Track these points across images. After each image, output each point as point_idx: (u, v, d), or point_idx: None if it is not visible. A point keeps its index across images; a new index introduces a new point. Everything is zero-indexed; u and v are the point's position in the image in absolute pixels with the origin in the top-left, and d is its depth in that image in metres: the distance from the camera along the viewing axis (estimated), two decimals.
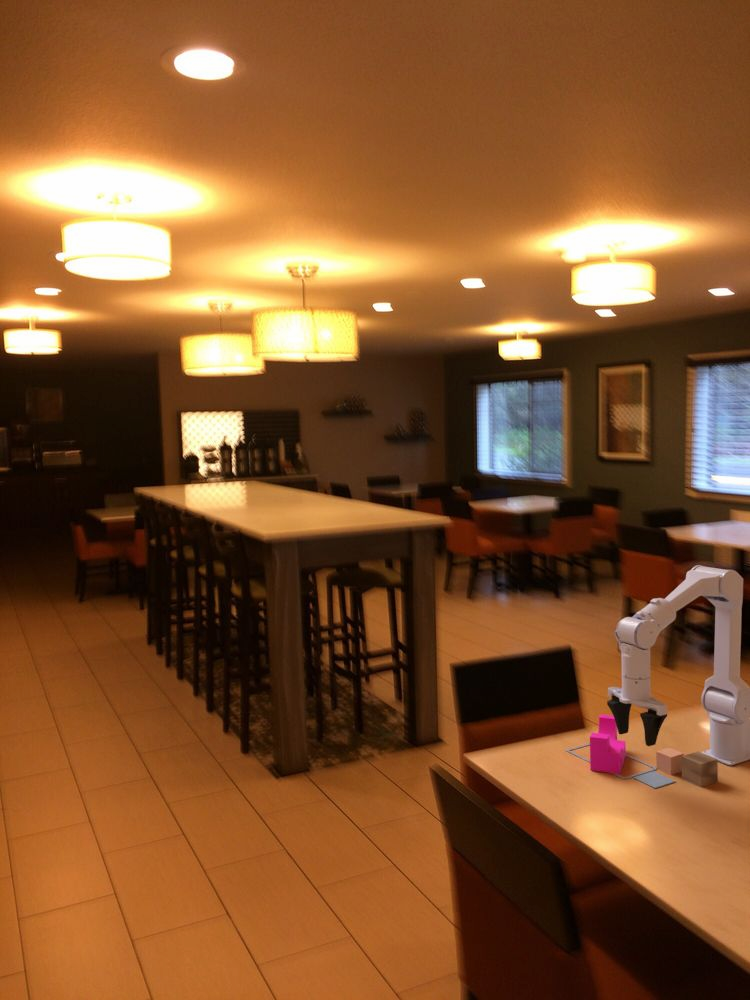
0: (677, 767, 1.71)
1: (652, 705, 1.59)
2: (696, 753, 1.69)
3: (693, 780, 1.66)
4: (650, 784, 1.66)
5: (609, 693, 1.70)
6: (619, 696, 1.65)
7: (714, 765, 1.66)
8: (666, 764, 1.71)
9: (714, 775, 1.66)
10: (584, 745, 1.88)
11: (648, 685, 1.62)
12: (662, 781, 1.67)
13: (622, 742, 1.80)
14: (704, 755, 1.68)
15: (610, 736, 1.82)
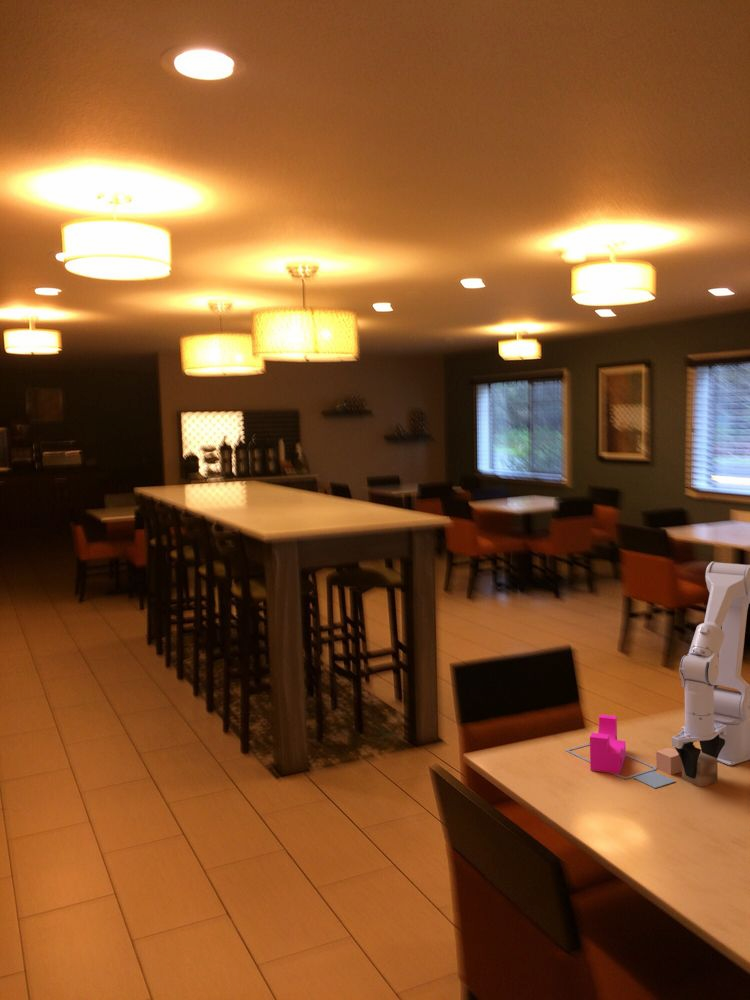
0: (677, 767, 1.71)
1: None
2: None
3: (693, 780, 1.66)
4: (650, 784, 1.66)
5: None
6: None
7: (714, 765, 1.66)
8: (666, 764, 1.71)
9: (714, 775, 1.66)
10: (584, 745, 1.88)
11: (692, 721, 1.64)
12: (662, 781, 1.67)
13: (622, 742, 1.80)
14: (704, 755, 1.68)
15: (610, 736, 1.82)
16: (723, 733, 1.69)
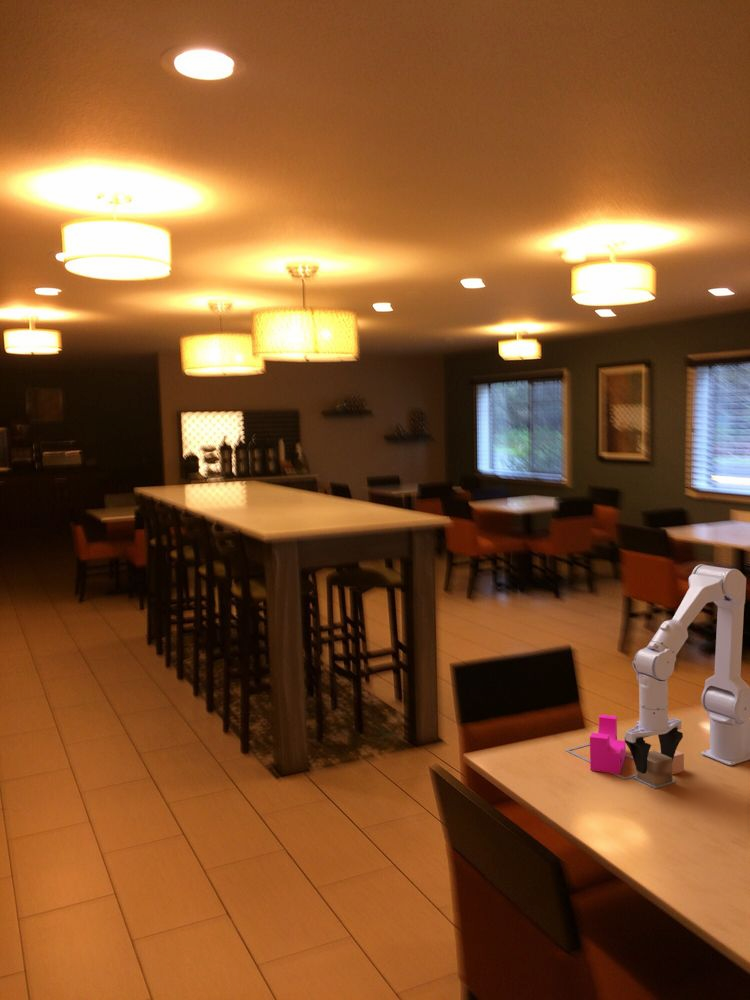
0: (677, 767, 1.71)
1: None
2: (651, 752, 1.70)
3: (647, 779, 1.66)
4: (650, 784, 1.66)
5: None
6: None
7: (668, 764, 1.66)
8: None
9: (668, 774, 1.66)
10: (584, 745, 1.88)
11: (646, 716, 1.65)
12: None
13: (622, 742, 1.80)
14: (659, 754, 1.68)
15: (610, 736, 1.82)
16: (678, 727, 1.69)
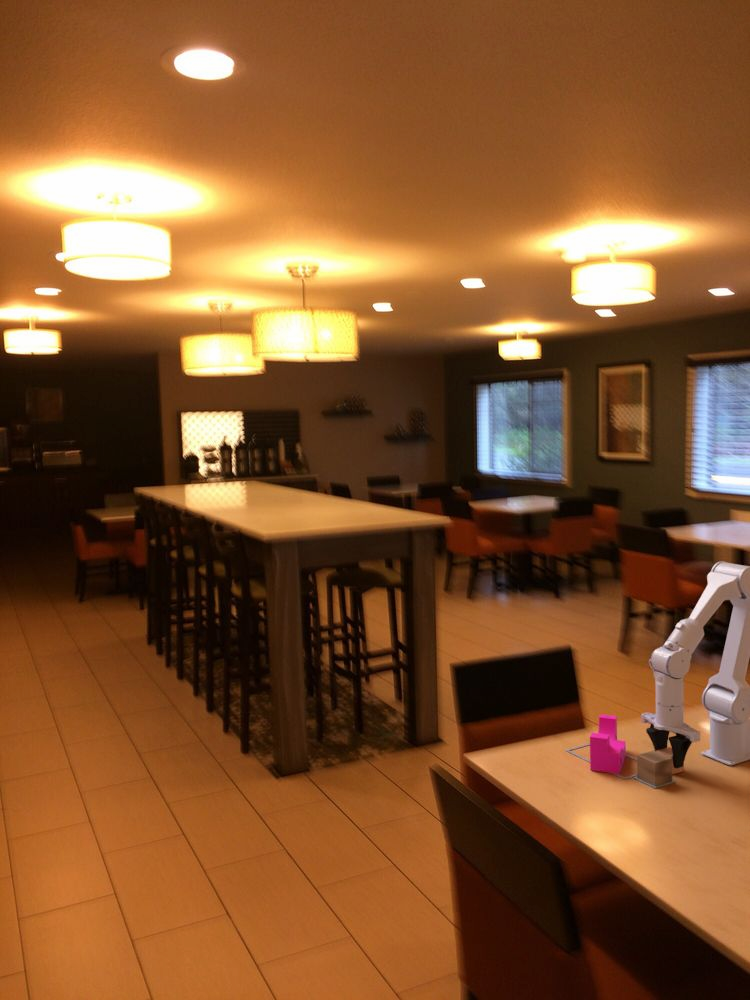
0: None
1: (686, 732, 1.67)
2: (651, 752, 1.70)
3: (647, 779, 1.66)
4: (650, 784, 1.66)
5: (643, 719, 1.78)
6: (653, 722, 1.73)
7: (668, 764, 1.66)
8: None
9: (668, 774, 1.66)
10: (584, 745, 1.88)
11: (681, 712, 1.70)
12: None
13: (622, 742, 1.80)
14: (659, 754, 1.68)
15: (610, 736, 1.82)
16: None
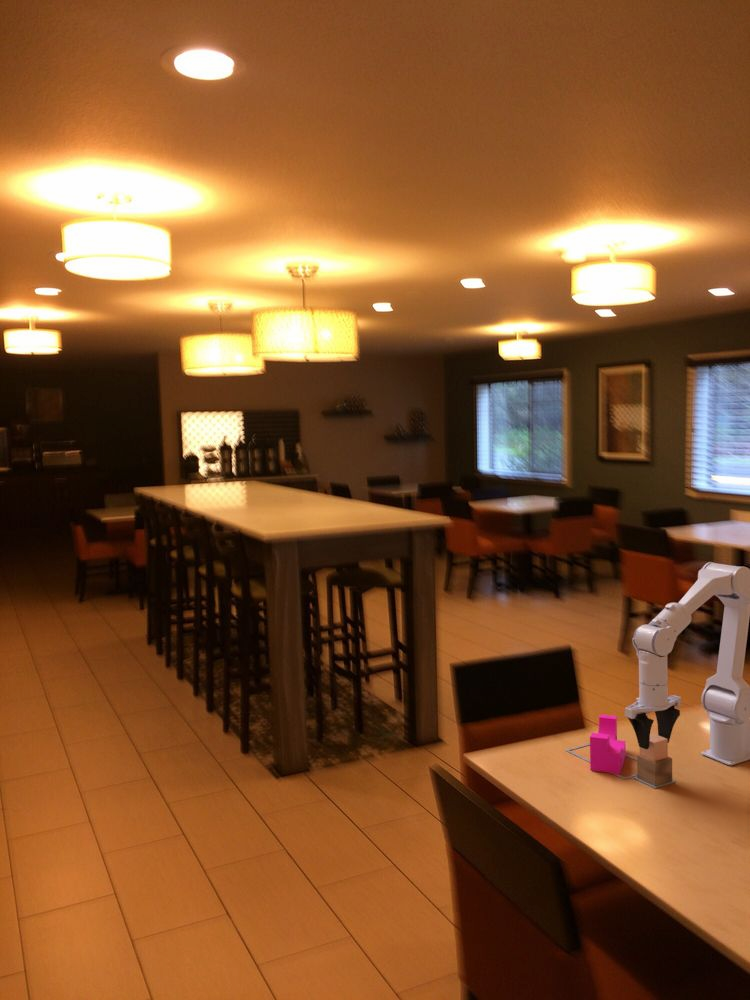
0: (646, 751, 1.67)
1: None
2: None
3: (647, 779, 1.66)
4: (650, 784, 1.66)
5: None
6: None
7: (668, 764, 1.66)
8: None
9: (668, 774, 1.66)
10: (584, 745, 1.88)
11: (646, 692, 1.65)
12: None
13: (622, 742, 1.80)
14: None
15: (610, 736, 1.82)
16: (678, 704, 1.69)
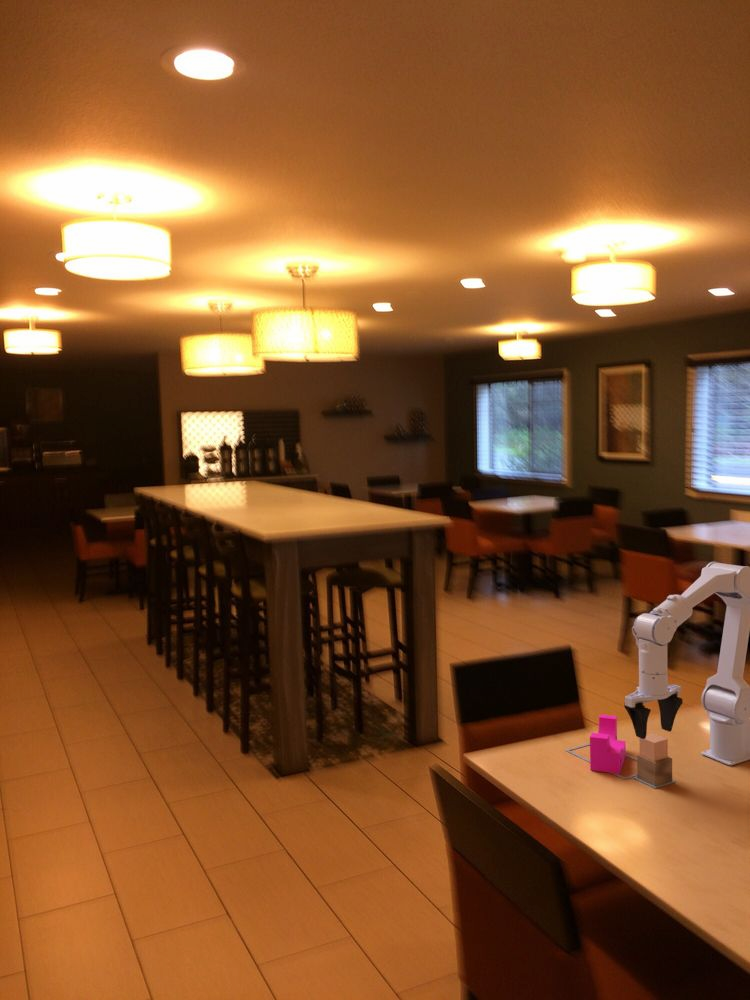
0: (646, 751, 1.67)
1: None
2: None
3: (647, 779, 1.66)
4: (650, 784, 1.66)
5: None
6: None
7: (668, 764, 1.66)
8: None
9: (668, 774, 1.66)
10: (584, 745, 1.88)
11: (646, 681, 1.65)
12: None
13: (622, 742, 1.80)
14: None
15: (610, 736, 1.82)
16: (678, 693, 1.69)
